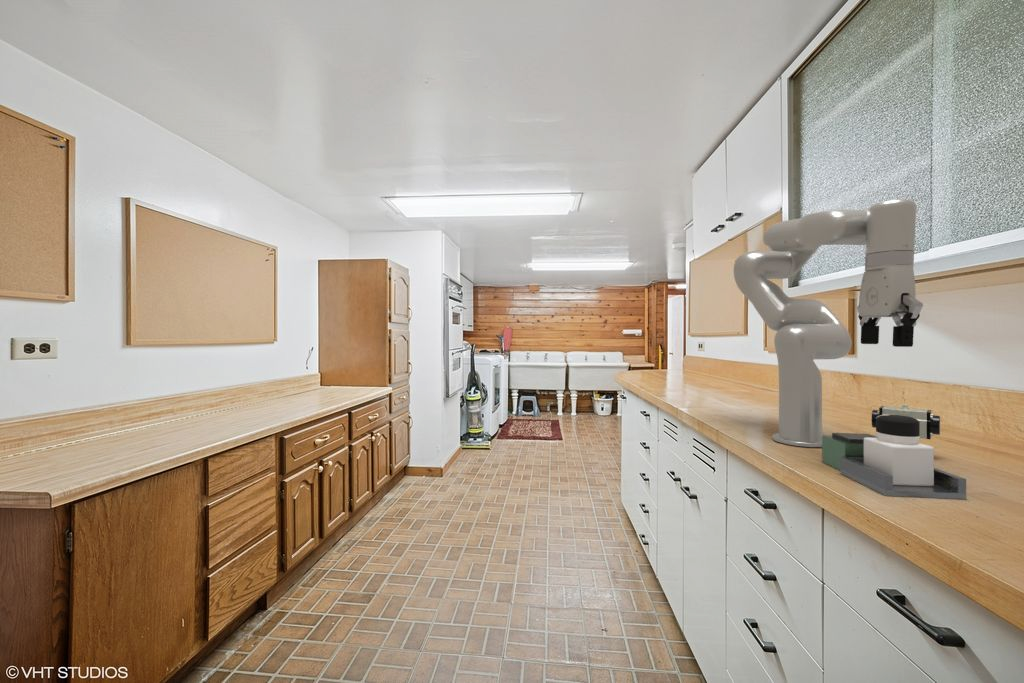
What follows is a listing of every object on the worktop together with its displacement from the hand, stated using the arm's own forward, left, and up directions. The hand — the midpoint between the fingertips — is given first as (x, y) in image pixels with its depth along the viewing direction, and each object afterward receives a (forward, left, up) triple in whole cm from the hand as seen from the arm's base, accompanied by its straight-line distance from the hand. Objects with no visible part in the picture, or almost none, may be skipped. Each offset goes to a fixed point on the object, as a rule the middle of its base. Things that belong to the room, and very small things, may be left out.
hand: (885, 345), depth 88 cm
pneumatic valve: (-14, +14, -26) cm, 33 cm away
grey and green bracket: (+5, -4, -26) cm, 27 cm away
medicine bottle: (+10, -4, -25) cm, 27 cm away
